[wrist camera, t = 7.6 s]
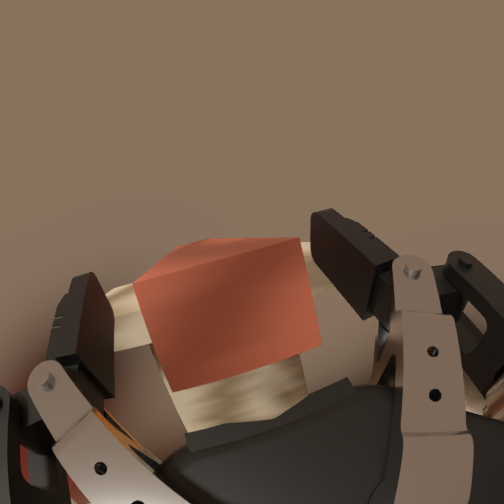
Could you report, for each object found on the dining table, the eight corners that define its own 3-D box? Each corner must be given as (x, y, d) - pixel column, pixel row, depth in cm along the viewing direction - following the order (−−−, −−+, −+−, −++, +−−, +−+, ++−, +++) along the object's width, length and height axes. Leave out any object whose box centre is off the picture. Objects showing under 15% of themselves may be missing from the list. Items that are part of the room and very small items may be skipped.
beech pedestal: (325, 441, 36) (283, 241, 33) (376, 505, 21) (362, 244, 18) (203, 481, 32) (114, 288, 29) (218, 560, 17) (55, 331, 14)
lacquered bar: (213, 260, 32) (207, 238, 31) (321, 345, 6) (299, 237, 6) (183, 269, 31) (176, 247, 31) (172, 392, 5) (132, 283, 5)
